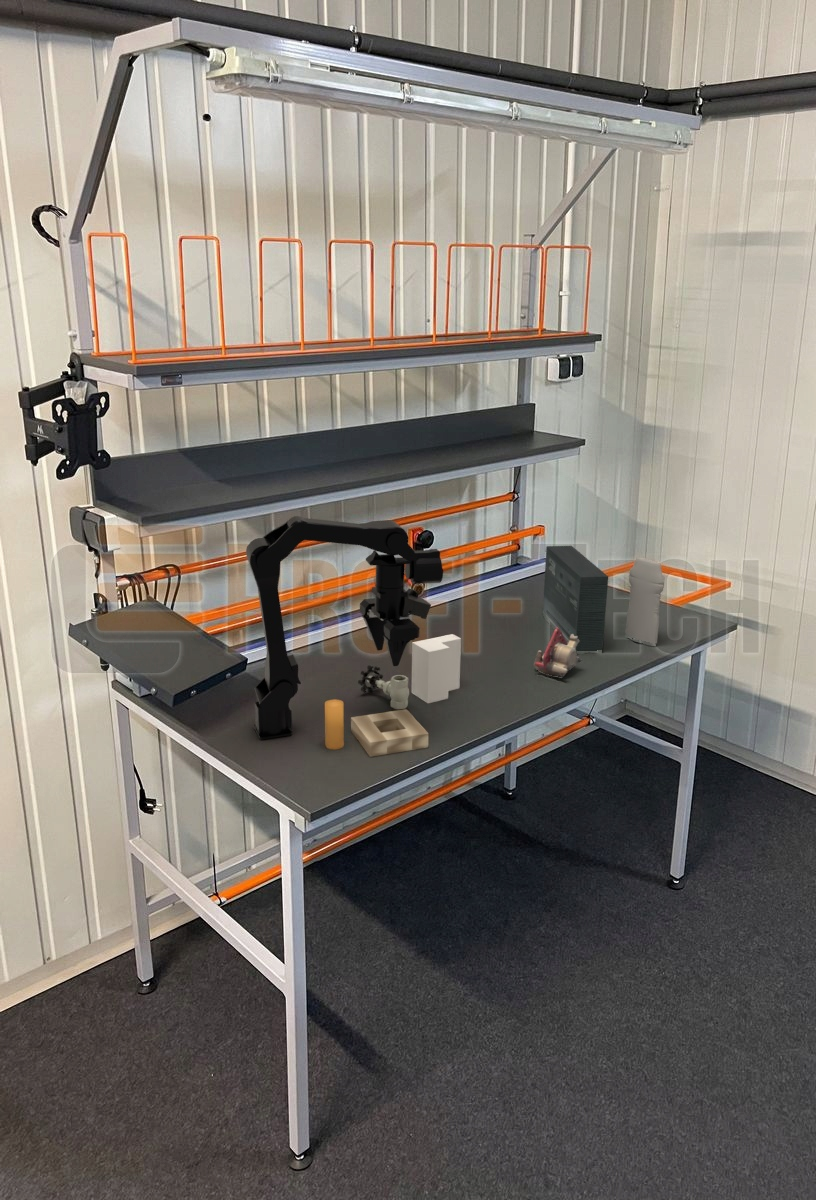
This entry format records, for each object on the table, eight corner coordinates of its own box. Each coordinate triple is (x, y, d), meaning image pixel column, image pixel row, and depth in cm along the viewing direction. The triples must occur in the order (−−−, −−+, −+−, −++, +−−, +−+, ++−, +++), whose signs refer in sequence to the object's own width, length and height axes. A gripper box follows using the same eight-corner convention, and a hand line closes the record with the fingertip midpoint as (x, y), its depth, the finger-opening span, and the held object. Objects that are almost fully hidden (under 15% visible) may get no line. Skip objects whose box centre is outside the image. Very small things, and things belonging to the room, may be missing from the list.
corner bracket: (427, 703, 208) (428, 652, 205) (400, 685, 217) (401, 636, 214) (467, 693, 214) (469, 643, 210) (439, 676, 223) (440, 627, 219)
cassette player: (602, 653, 238) (608, 576, 232) (575, 654, 237) (580, 577, 231) (566, 615, 266) (571, 545, 260) (542, 616, 265) (546, 546, 259)
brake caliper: (541, 649, 234) (570, 618, 227) (571, 683, 231) (602, 653, 224) (517, 663, 225) (547, 631, 218) (549, 698, 222) (580, 667, 215)
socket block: (370, 756, 184) (370, 742, 183) (351, 730, 195) (350, 717, 194) (428, 747, 188) (428, 733, 187) (406, 722, 199) (406, 709, 198)
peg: (328, 750, 186) (327, 708, 184) (323, 742, 190) (322, 700, 187) (346, 747, 188) (345, 705, 185) (340, 740, 191) (340, 698, 188)
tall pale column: (619, 637, 249) (626, 555, 243) (629, 634, 252) (636, 553, 245) (652, 649, 242) (660, 565, 235) (662, 645, 244) (671, 562, 237)
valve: (417, 705, 208) (380, 688, 216) (417, 676, 206) (380, 661, 214) (394, 713, 203) (357, 696, 212) (394, 684, 201) (357, 668, 210)
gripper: (445, 595, 186) (441, 670, 191) (409, 569, 202) (407, 638, 207) (392, 599, 182) (389, 676, 187) (359, 573, 198) (358, 644, 203)
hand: (387, 657), depth 196 cm, fingers open, 9 cm apart
